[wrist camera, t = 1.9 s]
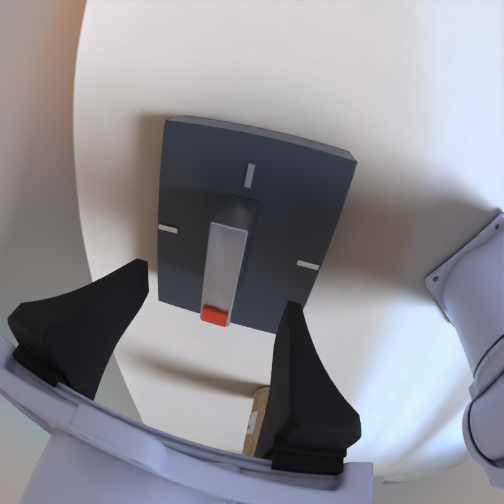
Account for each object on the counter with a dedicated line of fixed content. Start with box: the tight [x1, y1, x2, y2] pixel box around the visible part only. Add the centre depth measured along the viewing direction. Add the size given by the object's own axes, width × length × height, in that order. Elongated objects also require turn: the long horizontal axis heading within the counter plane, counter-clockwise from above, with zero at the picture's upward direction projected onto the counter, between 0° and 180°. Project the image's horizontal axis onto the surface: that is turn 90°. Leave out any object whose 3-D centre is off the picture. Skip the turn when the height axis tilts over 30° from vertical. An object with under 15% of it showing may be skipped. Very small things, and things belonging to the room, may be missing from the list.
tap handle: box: [200, 196, 260, 327], centre depth 16 cm, size 6×2×4 cm, turn 169°
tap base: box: [158, 116, 357, 334], centre depth 19 cm, size 14×11×3 cm
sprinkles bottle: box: [242, 387, 270, 457], centre depth 26 cm, size 5×5×14 cm
